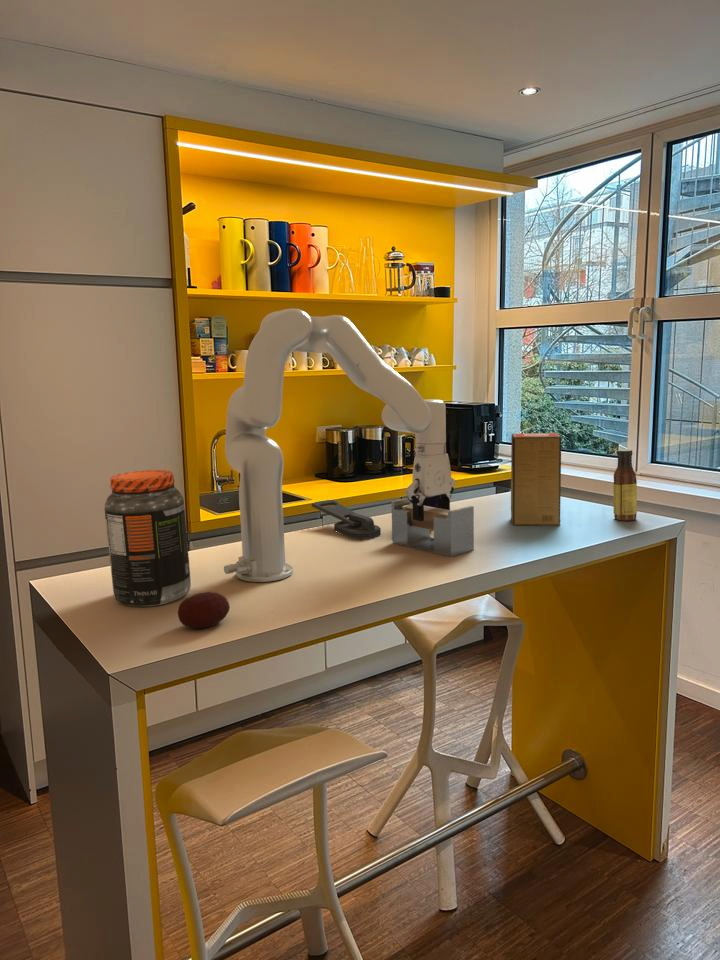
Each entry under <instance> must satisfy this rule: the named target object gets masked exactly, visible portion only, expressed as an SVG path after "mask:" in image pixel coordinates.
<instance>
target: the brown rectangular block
mask: <svg viewBox="0 0 720 960" xmlns="http://www.w3.org/2000/svg"><path fill="white" fill-rule="evenodd" d="M402 510H405V511H410V525H411V526H416V527H421V528H425V529H430V531H434V517H436V516H437V517H442V518H447V519H448V511H452V510H451V509H450V510H446V509H440V508H435V507H429V506H424V521H417V520H413V504H410V505H405V506H402Z"/></svg>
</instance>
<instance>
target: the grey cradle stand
mask: <svg viewBox="0 0 720 960" xmlns="http://www.w3.org/2000/svg"><path fill="white" fill-rule="evenodd" d="M390 503H391V506H390V507H391V541H392V542H393V543H392V544H395V543H397V544H396V545H399V544H401V545H400V546H403V545H405V546H404V547H407V546H409V547H408V548H411V547H413V548H412V549H417V550H420V549H421V551H424V550H425V551H424V552H428V551H429V552H428V553H432V552H433V553H434V554H436V553H437V555H441V556H446V557H450V558H453V557H456V556H459V555H462V554H466V553H468V552H472V551H474V550H475V548H474V547H475V545H474V543H475V542H474V541H475V536H474V535H475V529H474V526H475V525H474V522H475V519H474V517H475V516H474V515H475V514H474V513H475V512H474V511H475V509H474V507H475V506H473V505H468V506H464V507H461V508H457V509H453V510H451V511H448V519H447V518H442V517H437V516H436V517H434V530H433V537H431V530H430V529H425V528H421V527H416V526H411V525H410V511H405V510H402V506H405V505H410V504H411V502H410V501H409V499H408V497H406V498H401V499H396V500H391V502H390ZM471 550H472V551H471ZM465 552H466V553H465ZM433 553H432V554H433Z"/></svg>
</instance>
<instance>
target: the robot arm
mask: <svg viewBox="0 0 720 960" xmlns="http://www.w3.org/2000/svg"><path fill="white" fill-rule="evenodd" d="M293 352H301V353H313V354H328V355H330V357H331V358H332V359H333V360H334V361H335V362H336V364H337V366H339V368H340V369H341V370H342V372H344V374H345V375H346V376H347V377H348V378H349V380H350V381H351V382H352V383H353V384H354V385H355V386H357V387H358V388H359V389H360V390H362V391H364V392H366V393H369V394H371V395H373V396H374V397H376V398H378V399H379V400H381V401H382V402H383V403H384V404H385V406H384V407H383V409H382V412H381V420H382V423H383V424H384V425H385V426H386V427H387V428H388V429H390V430H392V431H396V432H401V433H408V434H414V435H415V448H414V449H413V450H414V452H415V455H414V460H413V464H412V465H413V467H412V468H413V469H412V479H411V480H412V483H410V484H409V485H407V487H406V488H405V494H406V496H407V498H408V499H409V501H410V502H411V504H413V520H417V521H424V505H422V503H423V501H424V499H425V497H433V496H438V495H440V496H441V498H439V508H440V509H446V510H451V499H452V494H453V492H454V491H455V485H456V483H457V482H456V479H455V478H452V472H451V471H452V469H451V462H450V458H449V454H448V453H447V433H446V432H447V431H446V430H447V429H446V428H447V426H446V425H447V422H446V421H447V417H446V415H447V414H446V413H447V412H446V409H447V408H446V403H445V402H444V400H441V399H436V398H434V399H427V398H426V399H424V398H423V397H422V395H420V393H419V392H418V391H417V389H416V388H415V387H414V386H413V385H412V384H411V383H410V382H409V381H408V380H407V379H406V378H405V377H403V376H402V375H401V374H399V373H398V372H397V371H396V370H394V369H393V368H392V367H391V366H390V365H388V364H387V363H385V362H384V361H383V360H382V358H381V357H380V355H378V354H377V352H376V351H375V350H374V349H373V347H372V346H371V344H370V343H369V342H368V341H367V340H366V338H365V336H363V334H362V333H361V332H360V331H359V329H358V328H357V327H356V326H355V324H354V323H353V322H352V321H351V320H350V319H349V318H348V317H346V316H344V315H340V314H333V315H327V316H310V315H309V314H308V313H307V312H306V311H304V310H302V309H300V308H286V309H282V310H277V311H273V312H270V313H268V314H267V315H266V316H265V317H263V318H262V321H261V322H260V327H259V330H258V331H257V333H256V334H255V336H254V337H253V339H252V340H251V343H250V344H249V347H248V350H247V353H246V358H245V359H246V360H245V367H244V373H243V374H244V376H243V385H242V386H240V387H238V388H237V389H236V390H235V391H233V393H232V394H231V396H230V398H229V401H228V404H227V410H226V423H225V424H226V425H225V443H224V445H225V447H224V448H225V450H224V453H225V458H226V461H227V463H228V464H229V466H230V467H231V468H232V469H233V470H235V471H236V472H238V473H240V476H239V478H240V479H239V486H238V487H239V489H238V503H239V505H238V506H239V516H240V517H239V518H240V533H241V549H242V550H241V551H242V553H241V554H242V556H238V560H237V561H235V563H230V564H226V565H224V566H223V572H224V573H225V574H226V575H229V574H233V573H235V574H236V576H237V578H238V579H239V580H241V581H245V582H251V583H266V582H267V583H268V582H274V581H275V582H276V581H279V580H283V579H286V578H288V577H290V576H291V575H292V574H293V572H294V571H293V566H292V565H291V564H288V563H286V552H285V551H286V550H285V549H286V547H285V527H284V526H285V525H284V524H285V523H284V507H283V476H284V464H285V463H284V455H283V451H282V449H281V447H280V446H279V444H278V443H277V442H276V441H275V440H273V439H272V438H270V437H268V436H266V435H267V434H266V433H267V429H270V428H273V427H275V426H276V425H277V424H278V422H279V421H280V418H281V415H282V410H283V394H284V393H283V391H284V378H285V371H286V370H285V369H286V364H287V361H288V359H289V357H290V355H291V354H292V353H293ZM418 496H419V497H420V498H419V500H418Z"/></svg>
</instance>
